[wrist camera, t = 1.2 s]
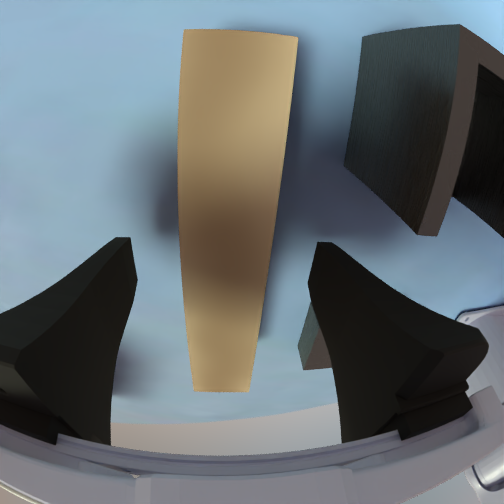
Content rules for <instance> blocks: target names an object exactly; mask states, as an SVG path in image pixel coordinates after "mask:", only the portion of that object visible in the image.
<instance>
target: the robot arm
mask: <svg viewBox="0 0 504 504" xmlns="http://www.w3.org/2000/svg"><path fill="white" fill-rule="evenodd" d="M137 281H138V279H137V274H136V268H135V263H134V257H133V251H132V245H131V238H130V237H116V238H114V239H113V240H111V241H110V242H108V243H107V244H106V245H105V246H103V247H102V248H101V249H100V250H98V251H97V252H96V253H95V254H93V255H92V256H91V257H90V258H88V259H87V260H86V261H85V262H83V263H82V264H81V265H80V266H78V267H77V268H76V269H74V270H73V271H72V272H70V273H69V274H68V275H67V276H65V277H64V278H63V279H61V280H60V281H58V282H57V283H55V284H54V285H52V286H51V287H49V288H48V289H46V290H45V291H43V292H41V293H40V294H38V295H36V296H34V297H33V298H31V299H29V300H27V301H26V302H24V303H22V304H20V305H18V306H16V307H14V308H12V309H10V310H8V311H5V312H3V313H1V314H0V482H2V483H3V484H5V485H7V486H9V487H11V488H13V489H14V490H16V491H18V492H20V493H22V494H24V495H26V496H28V497H31V498H33V499H35V500H37V501H39V502H42V503H44V504H400V503H403V502H405V501H407V500H409V499H412V498H414V497H416V496H418V495H420V494H422V493H424V492H426V491H428V490H430V489H432V488H434V487H436V486H438V485H440V484H442V483H444V482H445V481H447V480H449V479H451V478H453V477H454V476H456V475H458V474H459V473H461V472H463V471H464V473H465V476H466V478H467V480H468V482H469V484H470V485H471V486H472V488H473V489H474V490H475V492H476V494H477V497H478V499H479V502H480V503H481V504H504V306H499V307H494V308H489V309H483V310H478V311H472V312H466V313H462V314H461V315H460V316H459V317H458V319H457V320H456V321H455V320H453V319H450V318H448V317H445V316H443V315H441V314H438V313H436V312H434V311H432V310H430V309H428V308H426V307H424V306H422V305H420V304H418V303H416V302H415V301H413V300H411V299H409V298H408V297H406V296H404V295H403V294H401V293H400V292H398V291H396V290H395V289H393V288H392V287H390V286H389V285H387V284H386V283H385V282H383V281H382V280H380V279H379V278H378V277H376V276H375V275H374V274H372V273H371V272H370V271H368V270H367V269H366V268H365V267H363V266H362V265H361V264H360V263H358V262H357V261H356V260H355V259H353V258H352V257H351V256H350V255H348V254H347V253H346V252H345V251H343V250H342V249H341V248H339V247H338V246H337V245H335V244H334V243H332V242H317V246H316V250H315V255H314V259H313V263H312V267H311V271H310V275H309V279H308V288H309V293H310V298H311V302H312V306H313V309H314V312H315V315H316V317H317V320H318V323H319V326H320V329H321V332H322V334H323V337H324V340H325V343H326V346H327V349H328V352H329V356H330V360H331V365H332V369H333V374H334V380H335V386H336V392H337V398H338V406H339V414H340V424H341V439H342V444H337V445H332V446H327V447H321V448H315V449H308V450H301V451H292V452H283V453H274V454H260V455H239V456H203V455H199V456H198V455H180V454H168V453H157V452H148V451H140V450H133V449H127V448H121V447H115V446H111V438H110V437H111V434H110V433H111V431H110V420H111V399H112V389H113V379H114V372H115V365H116V359H117V354H118V350H119V346H120V342H121V339H122V336H123V333H124V329H125V326H126V323H127V320H128V317H129V314H130V311H131V308H132V304H133V301H134V296H135V291H136V286H137ZM127 473H128V474H127ZM131 474H134V475H140V476H139V477H137V478H133V476H132V475H131Z"/></svg>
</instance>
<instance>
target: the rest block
mask: <svg viewBox="0 0 504 504" xmlns="http://www.w3.org/2000/svg"><path fill="white" fill-rule="evenodd" d="M298 349H299V354H300V358H301V362H302V366H303V370H312V369H323V368H332V365H331V360H330V356H329V352H328V349H327V346H326V343H325V340H324V337H323V334H322V332H321V329H320V326H319V323H318V320H317V317H316V315H315V312H314V309H313V306H312V303H310V307H309V310H308V314H307V317H306V320H305V324H304V327H303V330H302V334H301V337H300V340H299V343H298Z"/></svg>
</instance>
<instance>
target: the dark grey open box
mask: <svg viewBox="0 0 504 504" xmlns="http://www.w3.org/2000/svg"><path fill="white" fill-rule="evenodd" d="M344 167H346V168H347V169H348V170H349V171H350V172H351V173H353V174H354V175H355V176H356V177H357V178H358V179H359V180H361V181H362V182H363V183H364V184H365V185H366V186H367V187H368V188H370V189H371V190H372V191H373V192H374V193H375V194H376V195H377V196H378V197H379V198H380V199H381V200H383V201H384V202H385V203H386V204H387V205H388V206H389V207H390V208H391V209H392V210H393V211H394V212H395V213H396V214H397V215H398V216H399V217H400V218H401V219H402V220H403V221H404V222H405V223H406V224H407V225H408V226H409V227H410V228H411V229H412V230H413V231H414V232H415V233H416V234H417V235H424V236H437V235H438V232H439V230H440V227H441V225H442V222H443V219H444V216H445V213H446V211H447V208H448V205H449V202H450V199H451V197H454V198H455V199H457V200H458V201H459V202H461V203H462V204H463V205H465V206H466V207H467V208H468V209H470V210H471V211H472V212H474V213H475V214H476V215H477V216H478V217H480V218H481V219H482V220H483V221H485V222H486V223H487V224H488V225H489V226H490V227H492V228H493V229H494V230H495V231H496V232H497V233H498V234H500V235H501V236H502V237H503V238H504V55H503V54H502V53H500V52H499V51H498V50H497V49H495V48H494V47H493V46H491V45H490V44H489V43H487V42H486V41H484V40H483V39H482V38H480V37H479V36H477V35H476V34H474V33H473V32H471V31H470V30H468V29H467V28H465V27H464V26H462V25H460V24H454V25H438V26H427V27H418V28H410V29H402V30H396V31H390V32H384V33H378V34H373V35H368V36H364V37H362V47H361V56H360V65H359V73H358V81H357V88H356V95H355V102H354V109H353V115H352V121H351V127H350V133H349V139H348V145H347V150H346V156H345V161H344Z"/></svg>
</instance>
